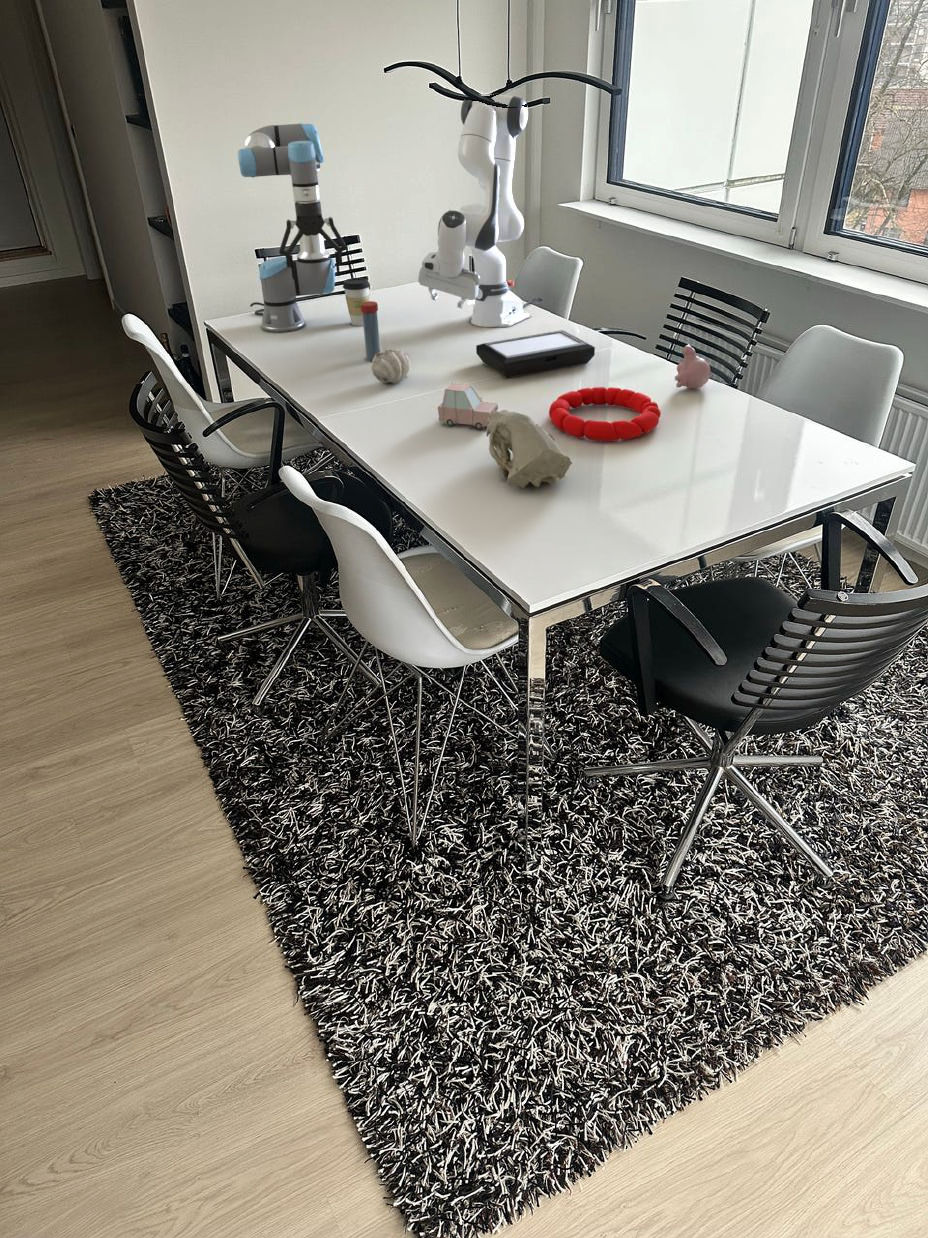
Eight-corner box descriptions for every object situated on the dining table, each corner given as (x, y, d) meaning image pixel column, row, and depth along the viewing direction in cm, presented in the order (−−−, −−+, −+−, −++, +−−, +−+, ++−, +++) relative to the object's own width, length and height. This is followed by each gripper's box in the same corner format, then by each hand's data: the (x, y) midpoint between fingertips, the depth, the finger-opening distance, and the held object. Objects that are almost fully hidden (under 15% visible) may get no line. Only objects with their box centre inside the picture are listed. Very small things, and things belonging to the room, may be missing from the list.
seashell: (364, 381, 275) (361, 349, 270) (407, 372, 281) (405, 341, 275) (377, 391, 268) (374, 358, 262) (421, 382, 273) (420, 349, 268)
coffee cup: (372, 326, 323) (368, 283, 314) (345, 327, 323) (340, 284, 315) (374, 318, 331) (371, 276, 322) (348, 319, 331) (344, 277, 323)
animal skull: (496, 517, 219) (521, 479, 201) (463, 429, 225) (484, 384, 207) (557, 503, 225) (586, 465, 206) (523, 417, 231) (549, 373, 212)
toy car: (488, 432, 240) (488, 396, 234) (436, 426, 244) (434, 390, 239) (499, 419, 247) (499, 384, 241) (448, 413, 252) (447, 379, 246)
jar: (377, 361, 291) (372, 307, 281) (364, 360, 292) (359, 306, 283) (383, 357, 295) (378, 303, 285) (369, 355, 296) (365, 302, 286)
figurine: (665, 387, 264) (669, 347, 257) (693, 380, 268) (698, 340, 261) (686, 396, 257) (690, 355, 250) (714, 388, 262) (720, 348, 255)
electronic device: (503, 360, 269) (476, 342, 284) (503, 380, 272) (476, 362, 287) (595, 344, 279) (563, 327, 294) (594, 364, 283) (563, 346, 298)
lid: (374, 313, 282) (373, 306, 281) (358, 312, 283) (357, 305, 282) (380, 308, 286) (380, 301, 285) (364, 307, 288) (364, 300, 286)
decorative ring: (589, 435, 224) (684, 402, 234) (527, 398, 247) (617, 369, 256) (589, 461, 229) (683, 427, 238) (529, 422, 251) (617, 393, 260)
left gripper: (264, 205, 256) (275, 282, 268) (350, 200, 259) (357, 276, 271) (264, 201, 262) (275, 276, 274) (349, 196, 265) (356, 270, 277)
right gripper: (483, 268, 285) (479, 306, 296) (425, 251, 288) (423, 289, 299) (476, 278, 281) (472, 316, 292) (417, 260, 284) (415, 299, 295)
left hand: (316, 276), depth 273 cm, fingers open, 13 cm apart
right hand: (447, 302), depth 296 cm, fingers open, 8 cm apart
